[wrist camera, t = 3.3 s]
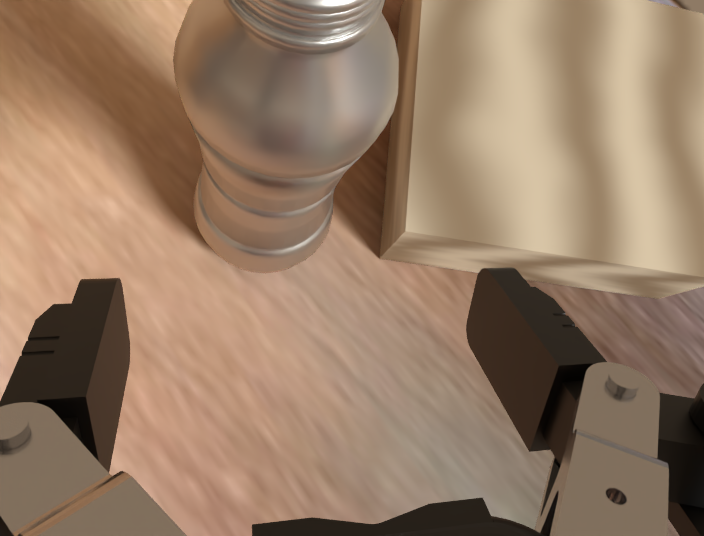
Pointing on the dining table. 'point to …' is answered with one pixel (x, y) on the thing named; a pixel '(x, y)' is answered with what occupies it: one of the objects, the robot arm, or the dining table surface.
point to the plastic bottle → (280, 116)
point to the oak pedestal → (550, 142)
